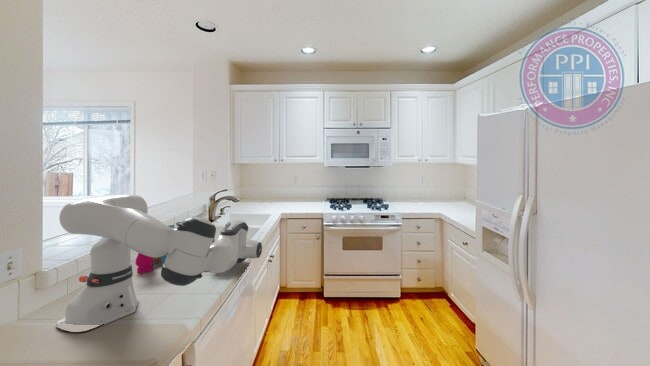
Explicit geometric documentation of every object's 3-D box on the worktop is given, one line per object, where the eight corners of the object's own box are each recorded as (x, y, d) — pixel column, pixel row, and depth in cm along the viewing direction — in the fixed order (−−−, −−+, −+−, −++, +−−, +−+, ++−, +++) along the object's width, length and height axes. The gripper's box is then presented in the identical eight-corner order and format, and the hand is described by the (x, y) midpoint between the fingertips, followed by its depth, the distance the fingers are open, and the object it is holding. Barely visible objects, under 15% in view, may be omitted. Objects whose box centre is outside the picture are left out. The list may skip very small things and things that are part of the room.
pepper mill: (140, 274, 138) (137, 230, 136) (133, 271, 142) (130, 228, 140) (156, 270, 143) (154, 227, 142) (149, 266, 148) (147, 225, 146)
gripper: (217, 260, 138) (193, 257, 143) (244, 247, 158) (222, 245, 162) (216, 246, 138) (192, 243, 143) (243, 235, 157) (221, 233, 162)
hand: (208, 244), depth 153 cm, fingers open, 8 cm apart
